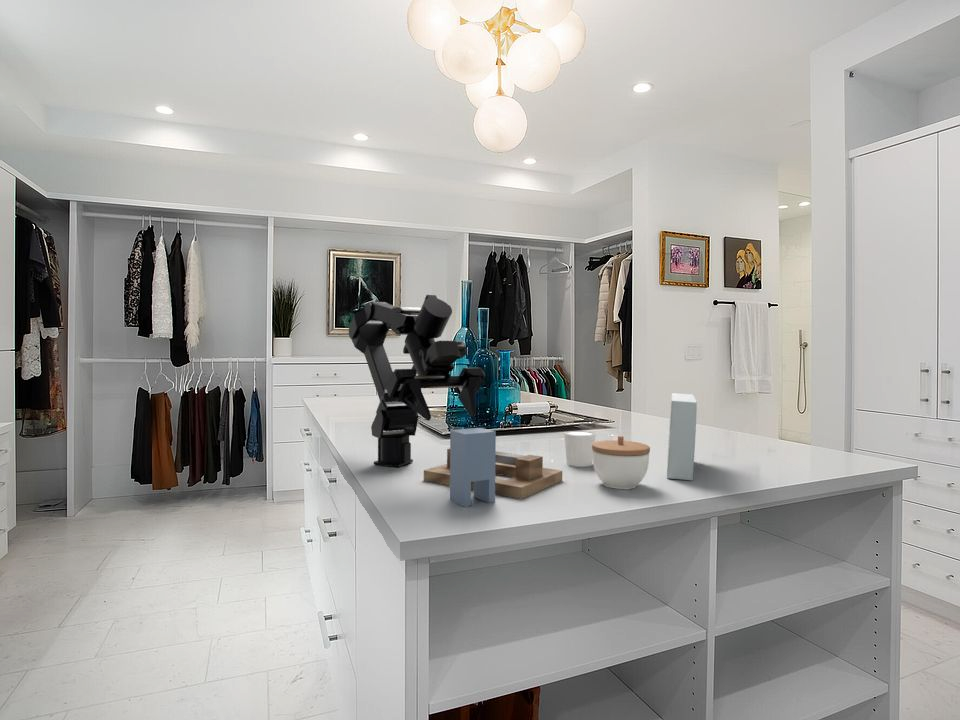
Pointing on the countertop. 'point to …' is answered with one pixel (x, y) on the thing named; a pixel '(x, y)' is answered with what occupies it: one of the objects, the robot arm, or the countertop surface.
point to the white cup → (579, 448)
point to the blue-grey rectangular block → (472, 465)
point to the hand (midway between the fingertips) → (452, 417)
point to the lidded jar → (620, 462)
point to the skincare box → (682, 437)
